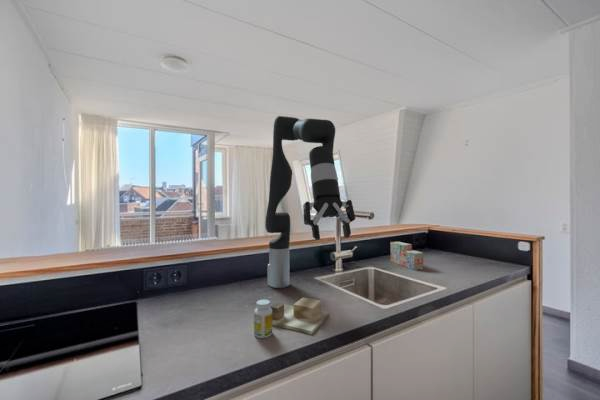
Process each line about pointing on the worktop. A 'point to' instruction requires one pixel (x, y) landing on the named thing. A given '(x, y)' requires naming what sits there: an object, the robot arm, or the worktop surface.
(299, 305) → the oak pedestal
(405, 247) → the stack of blocks
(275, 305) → the walnut block
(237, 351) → the worktop surface
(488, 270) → the worktop surface
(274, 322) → the birch board
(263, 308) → the supplement bottle
